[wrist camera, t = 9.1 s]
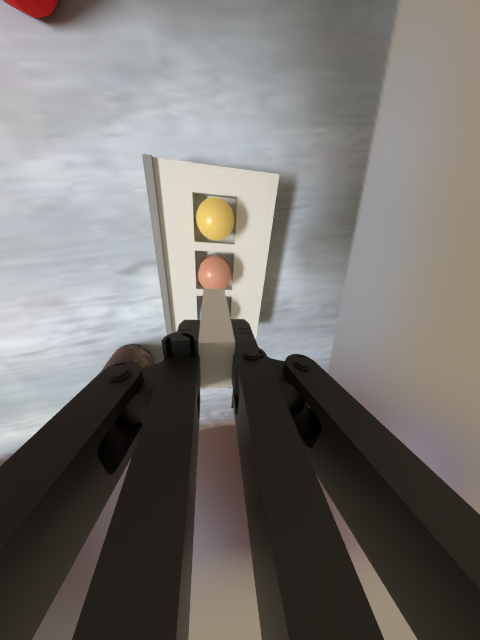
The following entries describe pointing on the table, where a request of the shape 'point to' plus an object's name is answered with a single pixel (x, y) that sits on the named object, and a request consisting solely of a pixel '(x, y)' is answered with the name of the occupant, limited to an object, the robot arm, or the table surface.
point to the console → (192, 246)
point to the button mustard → (215, 218)
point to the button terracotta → (214, 272)
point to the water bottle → (34, 7)
